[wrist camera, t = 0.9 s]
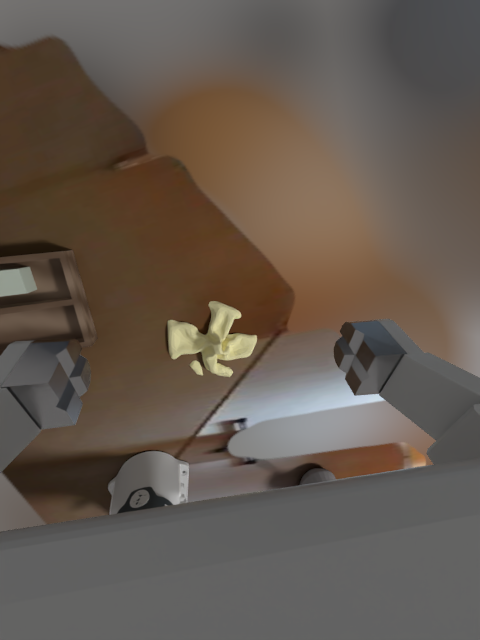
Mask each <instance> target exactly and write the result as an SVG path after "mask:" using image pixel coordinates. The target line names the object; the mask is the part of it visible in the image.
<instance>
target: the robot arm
mask: <svg viewBox="0 0 480 640" xmlns="http://www.w3.org/2000/svg"><path fill="white" fill-rule="evenodd" d="M340 333H341V334H342V337H341V338H340V339H338V340H337V341H336V343H335V347H334V358H335V361H336V364H337V365H338V367H339V369H341V370H342V371H344V372H345V373H346V377H345V380H346V381H347V383H348V385H349V386H350V388H351V390H352V392H353V393H354V395H368V394H379V395H380V396H381V397H382V398H384V399H385V400H386V401H387V402H389V403H390V404H391V405H392V406H394V407H395V408H396V409H398V410H399V411H400V412H401V413H402V414H404V415H405V416H406V417H408V418H409V419H410V420H411V421H412V422H414V423H415V424H416V425H417V426H419V427H420V428H421V429H423V430H424V431H425V432H426V433H427V434H429V435H430V436H431V437H433V438H434V439H435V440H436V442H435V443H433V444H432V445H431V446H430V447H429V448H428V450H427V455H428V457H429V458H430V460H431V461H432V462H433V464H434V465H428V466H421V467H415V468H408V469H402V470H395V471H389V472H383V473H376V474H370V475H363V476H357V477H350V478H344V479H337V480H331V481H324V482H318V483H311V484H305V485H298V486H292V487H286V488H279V489H273V490H266V491H260V492H253V493H247V494H240V495H234V496H227V497H221V498H215V499H208V500H202V501H195V502H189V503H187V496H188V477H189V464H188V463H187V462H185V461H180V460H177V459H175V458H174V457H173V456H171V455H169V454H167V453H164V452H159V451H148V452H143V453H140V454H137V455H135V456H133V457H132V458H130V459H129V460H127V461H126V462H125V463H124V464H123V466H122V467H121V469H120V471H119V473H118V474H117V476H116V477H115V478H114V479H112V480H111V481H110V482H109V484H108V490H109V492H110V493H111V495H112V500H111V506H110V515H105V516H98V517H92V518H86V519H79V520H73V521H66V522H60V523H53V524H47V525H41V526H34V527H27V528H22V529H15V530H8V531H2V532H0V640H480V378H479V377H477V376H475V375H473V374H471V373H469V372H467V371H465V370H463V369H461V368H459V367H456V366H455V365H453V364H451V363H449V362H447V361H445V360H442V359H441V358H438V357H436V356H434V355H432V354H430V353H424V352H423V351H422V350H421V349H420V348H419V347H418V346H417V345H416V344H415V343H414V342H413V341H412V340H411V339H410V338H409V337H408V335H407V334H406V333H405V332H404V331H403V330H402V329H401V328H400V327H399V326H398V325H397V324H396V323H395V322H394V321H393V320H390V319H380V320H373V321H372V320H370V321H356V322H345V323H344V324H343V325H342V328H341V330H340ZM81 350H82V347H81V345H80V343H79V341H78V340H76V339H51V340H35V341H15V342H13V343H11V344H9V345H8V346H7V348H6V349H5V350H4V352H3V353H2V354H1V356H0V473H1V472H2V471H3V470H4V469H5V468H6V467H7V466H8V465H9V464H10V463H11V462H12V461H13V460H14V459H15V458H16V456H17V455H18V454H19V453H20V452H21V451H22V450H23V449H24V448H25V447H26V446H27V445H28V444H29V443H30V442H31V441H32V440H33V439H34V438H35V437H36V436H37V435H38V434H39V433H40V432H41V430H40V429H48V428H56V427H63V426H71V425H75V424H76V421H77V418H78V415H79V413H80V410H81V407H82V404H83V403H82V401H81V400H80V398H79V397H80V396H82V395H83V394H84V393H85V392H86V391H87V390H88V387H89V384H90V378H91V370H90V365H89V363H88V360H87V359H86V358H84V357H83V356H81V355H80V352H81Z"/></svg>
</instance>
